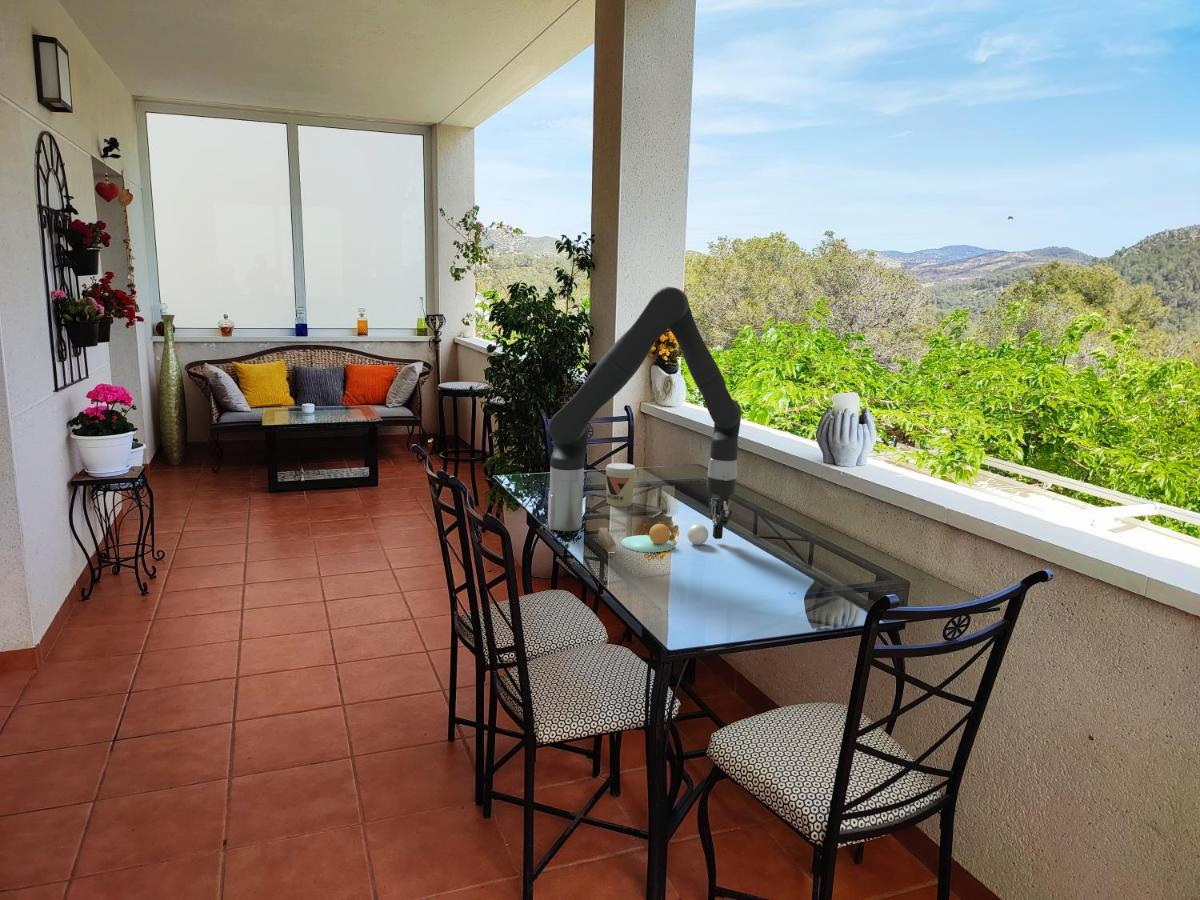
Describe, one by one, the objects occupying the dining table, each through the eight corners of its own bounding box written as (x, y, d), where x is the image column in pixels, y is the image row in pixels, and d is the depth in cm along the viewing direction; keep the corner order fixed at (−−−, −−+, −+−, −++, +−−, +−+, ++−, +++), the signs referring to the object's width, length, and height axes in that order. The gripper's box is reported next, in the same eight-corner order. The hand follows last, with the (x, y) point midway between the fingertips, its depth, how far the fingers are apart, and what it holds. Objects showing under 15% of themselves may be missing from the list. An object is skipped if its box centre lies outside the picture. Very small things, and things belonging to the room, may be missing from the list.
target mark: (627, 553, 200) (627, 552, 200) (616, 536, 214) (616, 535, 213) (680, 552, 202) (680, 551, 202) (667, 535, 216) (667, 535, 216)
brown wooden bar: (607, 553, 199) (608, 544, 199) (598, 536, 213) (599, 527, 212) (615, 553, 200) (615, 544, 199) (605, 536, 213) (606, 527, 213)
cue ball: (714, 531, 207) (707, 550, 208) (706, 523, 212) (699, 541, 213) (696, 527, 205) (688, 546, 206) (688, 518, 210) (681, 537, 211)
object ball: (673, 544, 206) (653, 549, 206) (668, 538, 212) (648, 542, 211) (670, 525, 205) (650, 530, 204) (665, 519, 210) (645, 523, 210)
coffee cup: (599, 504, 245) (600, 466, 242) (612, 497, 253) (614, 461, 250) (626, 509, 240) (628, 470, 238) (639, 502, 249) (641, 465, 246)
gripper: (701, 469, 213) (696, 530, 217) (716, 481, 200) (711, 546, 204) (727, 469, 214) (722, 530, 218) (744, 481, 202) (739, 545, 205)
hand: (717, 537), depth 211 cm, fingers closed
